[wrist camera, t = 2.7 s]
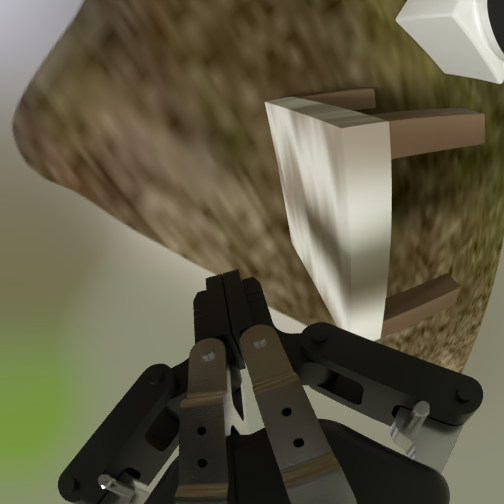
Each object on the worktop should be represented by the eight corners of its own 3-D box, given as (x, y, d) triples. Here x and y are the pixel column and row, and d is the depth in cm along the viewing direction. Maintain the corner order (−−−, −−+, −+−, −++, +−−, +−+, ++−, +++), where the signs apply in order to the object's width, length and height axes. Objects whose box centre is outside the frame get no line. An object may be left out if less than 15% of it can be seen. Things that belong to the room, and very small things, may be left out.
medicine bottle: (443, 74, 19) (552, 102, 9) (392, 20, 16) (511, 15, 6) (467, 29, 17) (567, 42, 7) (421, -24, 14) (526, -37, 4)
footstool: (264, 101, 19) (340, 128, 9) (364, 87, 19) (484, 114, 10) (291, 243, 26) (349, 350, 16) (373, 219, 26) (455, 303, 16)
